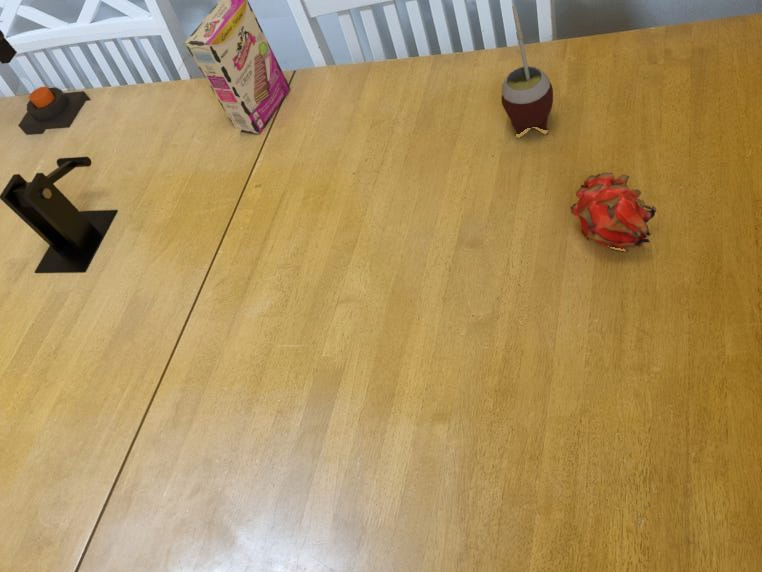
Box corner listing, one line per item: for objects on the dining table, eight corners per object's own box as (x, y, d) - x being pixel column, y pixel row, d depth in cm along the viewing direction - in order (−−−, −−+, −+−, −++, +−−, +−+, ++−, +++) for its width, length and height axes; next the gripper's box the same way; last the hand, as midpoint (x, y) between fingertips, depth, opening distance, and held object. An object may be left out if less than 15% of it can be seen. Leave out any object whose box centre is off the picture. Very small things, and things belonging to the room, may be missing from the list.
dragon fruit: (587, 209, 96) (646, 270, 91) (542, 214, 91) (603, 279, 86) (619, 154, 91) (685, 216, 86) (575, 156, 85) (641, 222, 80)
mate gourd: (532, 149, 102) (514, 56, 90) (494, 127, 106) (472, 35, 94) (569, 119, 104) (557, 23, 91) (531, 98, 108) (514, 4, 95)
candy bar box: (261, 135, 116) (209, 45, 103) (236, 132, 118) (181, 43, 105) (293, 88, 121) (247, -4, 108) (268, 86, 123) (220, -5, 109)
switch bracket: (73, 216, 115) (14, 155, 105) (122, 214, 113) (66, 152, 103) (39, 277, 109) (-27, 218, 99) (89, 276, 107) (27, 217, 97)
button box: (26, 135, 131) (10, 117, 127) (46, 104, 135) (31, 86, 131) (73, 131, 128) (57, 113, 125) (92, 101, 132) (77, 82, 129)
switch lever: (67, 168, 111) (59, 153, 110) (94, 166, 110) (86, 151, 109) (13, 207, 103) (3, 191, 101) (42, 206, 101) (33, 190, 100)
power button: (32, 109, 128) (25, 101, 126) (41, 95, 130) (34, 87, 128) (49, 108, 127) (42, 99, 126) (58, 94, 129) (51, 85, 127)
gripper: (-168, -68, 101) (-33, 76, 121) (-96, -81, 98) (31, 69, 117) (-137, -97, 105) (-11, 47, 125) (-67, -111, 102) (51, 39, 121)
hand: (9, 57), depth 121 cm, fingers closed
